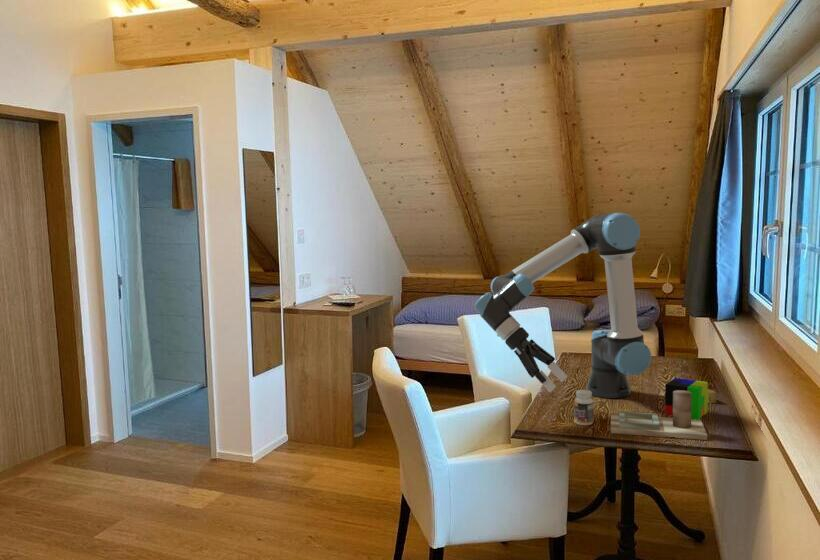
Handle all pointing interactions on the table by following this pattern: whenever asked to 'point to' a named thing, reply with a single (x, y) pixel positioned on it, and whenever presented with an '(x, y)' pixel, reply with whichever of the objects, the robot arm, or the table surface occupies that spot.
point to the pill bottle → (583, 408)
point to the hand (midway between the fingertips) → (559, 384)
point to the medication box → (711, 396)
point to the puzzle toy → (698, 396)
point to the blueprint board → (662, 421)
